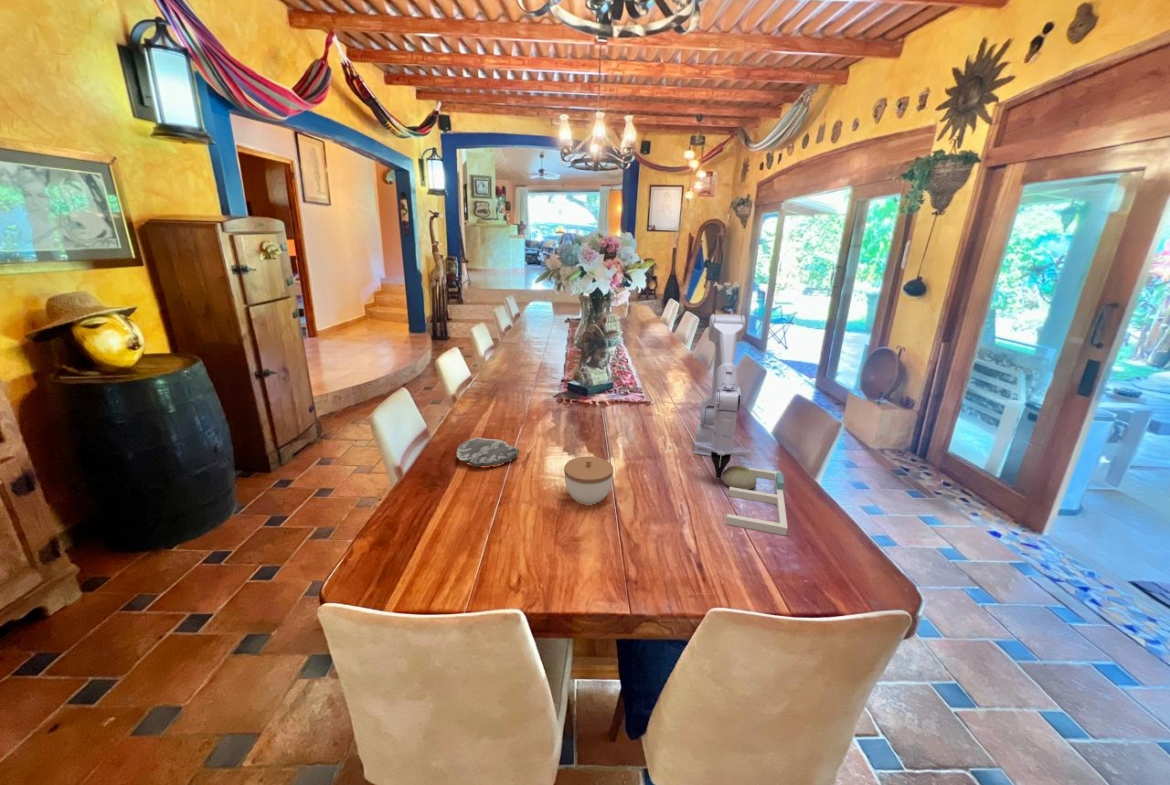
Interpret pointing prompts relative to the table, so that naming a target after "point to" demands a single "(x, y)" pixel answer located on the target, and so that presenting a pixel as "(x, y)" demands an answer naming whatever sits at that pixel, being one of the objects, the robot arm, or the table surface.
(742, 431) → the table surface
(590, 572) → the table surface
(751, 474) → the sea urchin shell
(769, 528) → the comb rack
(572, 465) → the lidded bowl
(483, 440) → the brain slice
